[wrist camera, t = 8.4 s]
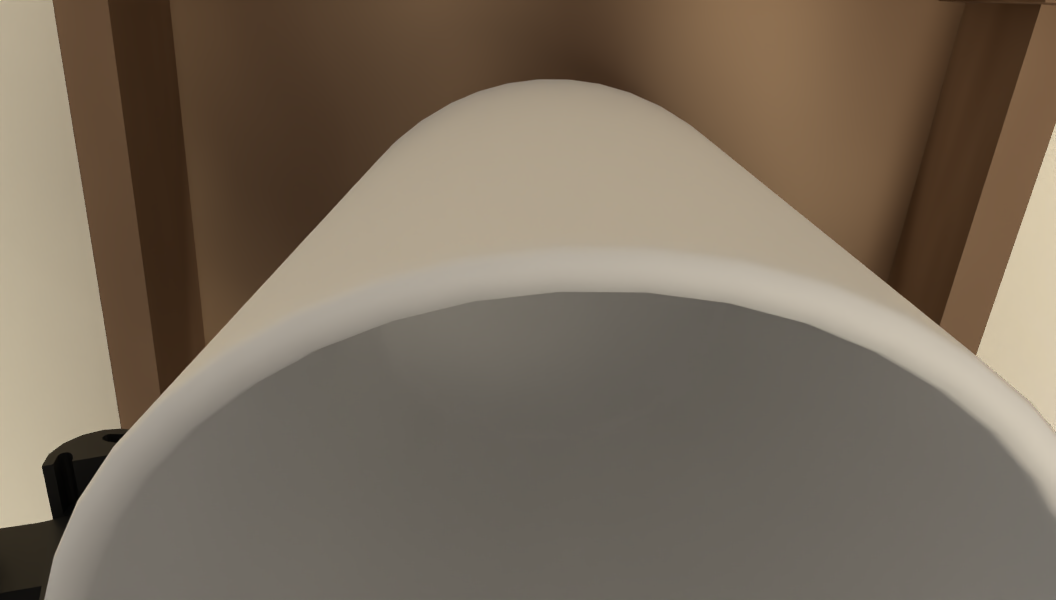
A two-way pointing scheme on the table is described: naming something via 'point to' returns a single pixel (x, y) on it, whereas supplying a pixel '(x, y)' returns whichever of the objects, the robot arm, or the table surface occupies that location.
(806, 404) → the mug
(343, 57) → the wooden tray
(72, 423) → the table surface
